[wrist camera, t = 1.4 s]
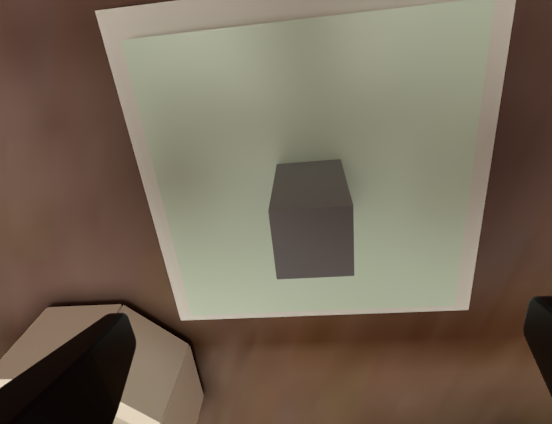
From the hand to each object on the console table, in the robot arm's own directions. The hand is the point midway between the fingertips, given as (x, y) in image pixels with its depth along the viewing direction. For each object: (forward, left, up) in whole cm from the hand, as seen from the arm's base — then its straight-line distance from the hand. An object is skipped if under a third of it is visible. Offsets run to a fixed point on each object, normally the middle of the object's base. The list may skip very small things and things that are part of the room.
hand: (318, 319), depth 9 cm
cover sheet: (0, 0, -8) cm, 8 cm away
